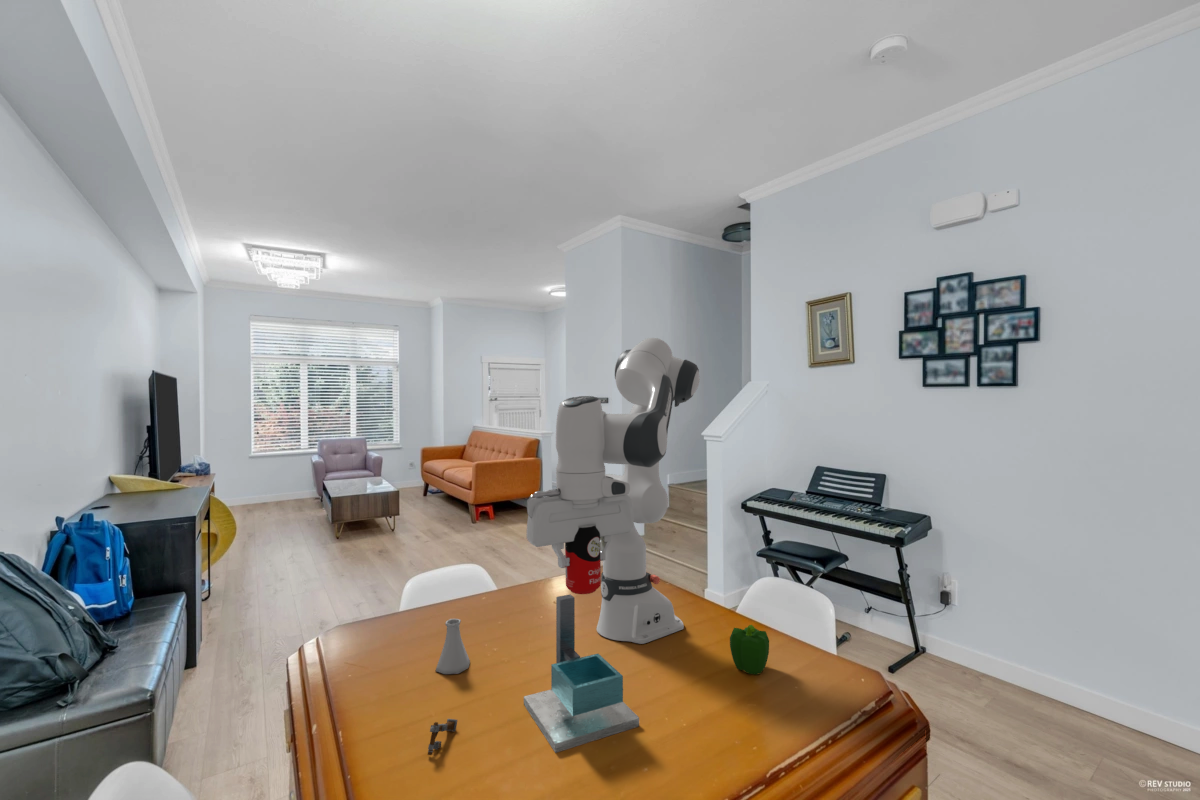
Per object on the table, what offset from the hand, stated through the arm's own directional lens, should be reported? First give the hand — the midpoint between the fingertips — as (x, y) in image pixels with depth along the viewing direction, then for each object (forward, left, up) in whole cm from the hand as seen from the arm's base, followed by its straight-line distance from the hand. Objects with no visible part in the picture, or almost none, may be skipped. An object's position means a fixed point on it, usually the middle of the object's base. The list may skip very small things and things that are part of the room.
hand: (582, 563), depth 95 cm
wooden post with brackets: (+23, -6, -29) cm, 37 cm away
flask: (+16, -32, -29) cm, 46 cm away
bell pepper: (-41, -2, -29) cm, 50 cm away
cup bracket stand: (-1, -3, -29) cm, 29 cm away
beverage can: (0, 0, -5) cm, 5 cm away
